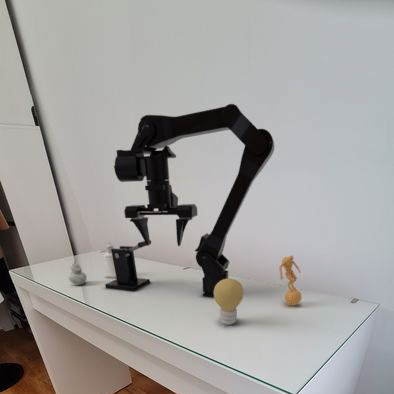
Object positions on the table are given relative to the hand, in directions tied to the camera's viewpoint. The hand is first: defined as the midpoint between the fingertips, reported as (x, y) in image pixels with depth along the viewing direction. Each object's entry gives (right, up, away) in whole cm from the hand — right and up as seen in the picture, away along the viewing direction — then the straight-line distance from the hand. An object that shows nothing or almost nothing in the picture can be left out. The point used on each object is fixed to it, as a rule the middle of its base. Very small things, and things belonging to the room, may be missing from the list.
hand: (163, 245), depth 80 cm
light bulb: (+16, -23, -15) cm, 32 cm away
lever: (-10, 0, +6) cm, 11 cm away
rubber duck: (-31, -7, +17) cm, 36 cm away
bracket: (-13, -8, +13) cm, 20 cm away
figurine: (+33, -18, -7) cm, 38 cm away
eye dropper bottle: (-20, -3, +23) cm, 31 cm away
